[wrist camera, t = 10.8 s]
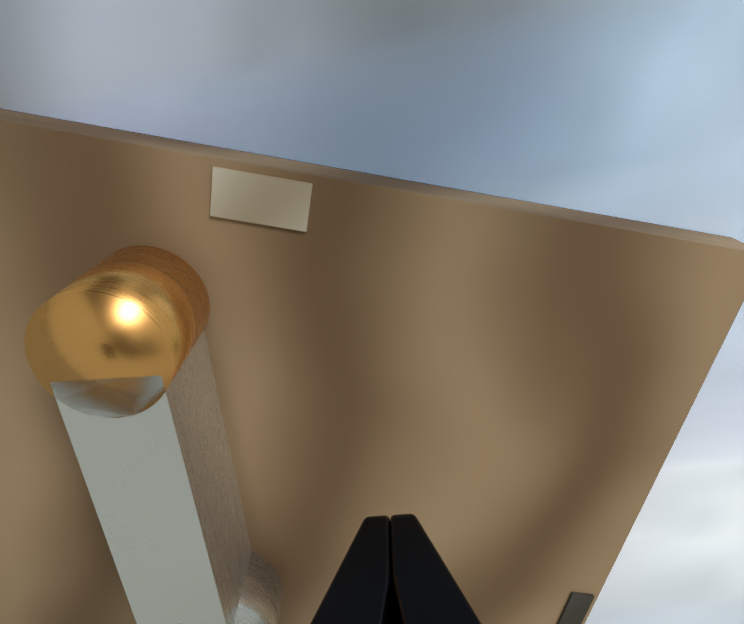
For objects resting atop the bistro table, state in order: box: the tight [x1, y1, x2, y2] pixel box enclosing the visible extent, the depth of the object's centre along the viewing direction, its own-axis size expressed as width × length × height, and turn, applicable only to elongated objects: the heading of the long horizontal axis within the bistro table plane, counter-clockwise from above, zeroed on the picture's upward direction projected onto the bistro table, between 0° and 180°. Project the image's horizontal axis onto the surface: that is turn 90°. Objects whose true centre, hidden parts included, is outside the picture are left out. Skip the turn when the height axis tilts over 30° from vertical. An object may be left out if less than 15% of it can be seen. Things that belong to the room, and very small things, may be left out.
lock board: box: [0, 109, 744, 624], centre depth 18 cm, size 22×22×2 cm
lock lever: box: [24, 245, 283, 624], centre depth 15 cm, size 14×4×3 cm, turn 4°
